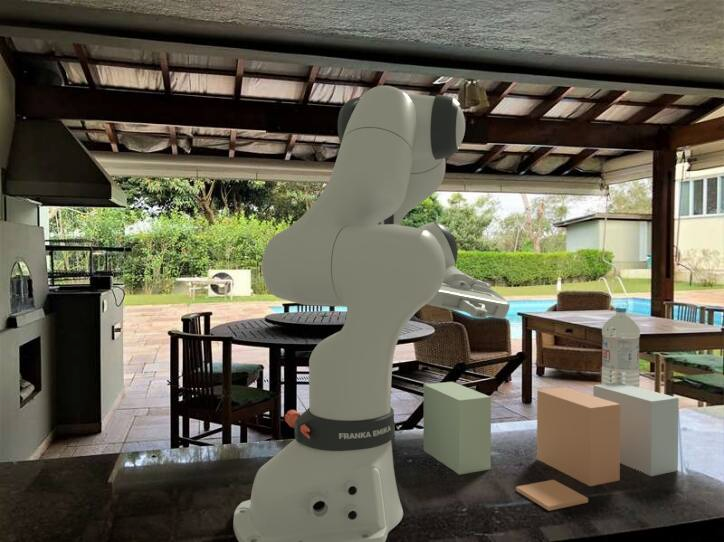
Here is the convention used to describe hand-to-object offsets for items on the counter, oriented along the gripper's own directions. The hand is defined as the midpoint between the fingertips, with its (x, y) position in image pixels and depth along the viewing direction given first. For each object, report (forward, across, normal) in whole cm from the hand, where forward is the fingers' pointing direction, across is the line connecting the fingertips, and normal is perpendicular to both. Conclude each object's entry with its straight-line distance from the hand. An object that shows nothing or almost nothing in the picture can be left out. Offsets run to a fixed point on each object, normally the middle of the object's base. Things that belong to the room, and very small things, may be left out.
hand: (480, 314), depth 110 cm
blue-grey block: (+30, +19, +11) cm, 37 cm away
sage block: (+21, -9, +20) cm, 30 cm away
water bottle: (+18, +28, +13) cm, 36 cm away
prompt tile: (+38, -4, +13) cm, 40 cm away
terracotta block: (+30, +7, +13) cm, 34 cm away
